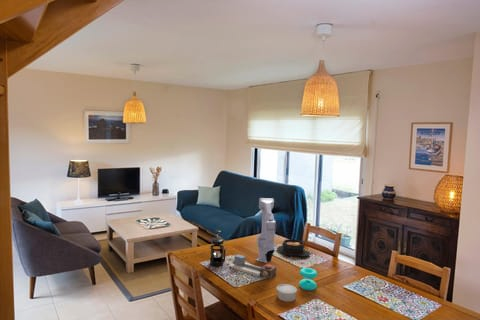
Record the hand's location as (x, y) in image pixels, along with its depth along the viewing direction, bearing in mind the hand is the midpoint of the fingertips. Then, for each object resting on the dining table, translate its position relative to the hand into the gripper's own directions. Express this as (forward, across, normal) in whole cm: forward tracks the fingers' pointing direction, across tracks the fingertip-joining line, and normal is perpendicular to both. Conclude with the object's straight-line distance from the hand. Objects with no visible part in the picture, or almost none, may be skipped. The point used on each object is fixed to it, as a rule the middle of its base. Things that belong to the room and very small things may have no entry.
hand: (268, 261), depth 204 cm
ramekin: (+9, +21, +19) cm, 30 cm away
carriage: (+7, -2, -21) cm, 22 cm away
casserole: (+9, -46, +1) cm, 47 cm away
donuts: (+9, +2, +26) cm, 28 cm away
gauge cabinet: (+9, 0, 0) cm, 9 cm away
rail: (+9, -1, -15) cm, 17 cm away
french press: (+9, +3, -35) cm, 37 cm away
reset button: (+8, 0, 0) cm, 8 cm away
